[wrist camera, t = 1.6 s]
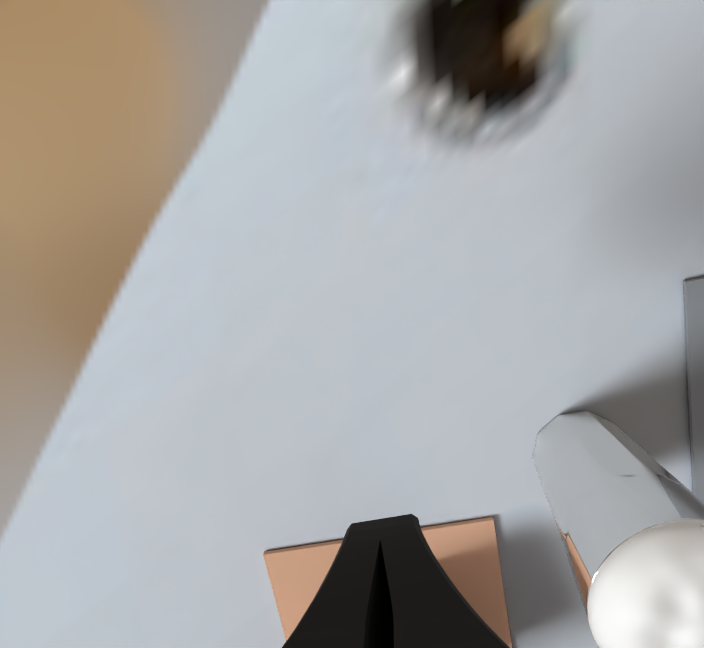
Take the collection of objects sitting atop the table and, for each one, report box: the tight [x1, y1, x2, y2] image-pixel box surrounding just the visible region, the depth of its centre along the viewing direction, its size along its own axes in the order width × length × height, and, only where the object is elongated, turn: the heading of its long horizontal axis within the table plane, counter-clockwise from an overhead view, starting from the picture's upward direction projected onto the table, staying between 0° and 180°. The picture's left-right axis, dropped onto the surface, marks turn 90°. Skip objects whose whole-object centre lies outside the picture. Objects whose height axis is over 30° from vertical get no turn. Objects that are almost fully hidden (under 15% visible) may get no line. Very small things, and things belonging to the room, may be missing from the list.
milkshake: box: [532, 411, 704, 648], centre depth 18 cm, size 5×5×10 cm
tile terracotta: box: [263, 517, 512, 648], centre depth 25 cm, size 9×9×1 cm
